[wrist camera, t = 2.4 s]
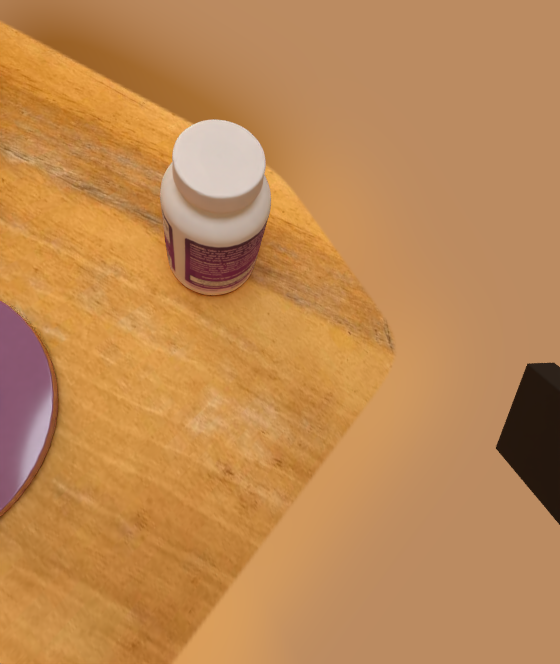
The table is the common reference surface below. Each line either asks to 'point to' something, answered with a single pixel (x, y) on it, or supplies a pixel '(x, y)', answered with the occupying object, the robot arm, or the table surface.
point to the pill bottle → (214, 206)
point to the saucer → (23, 405)
